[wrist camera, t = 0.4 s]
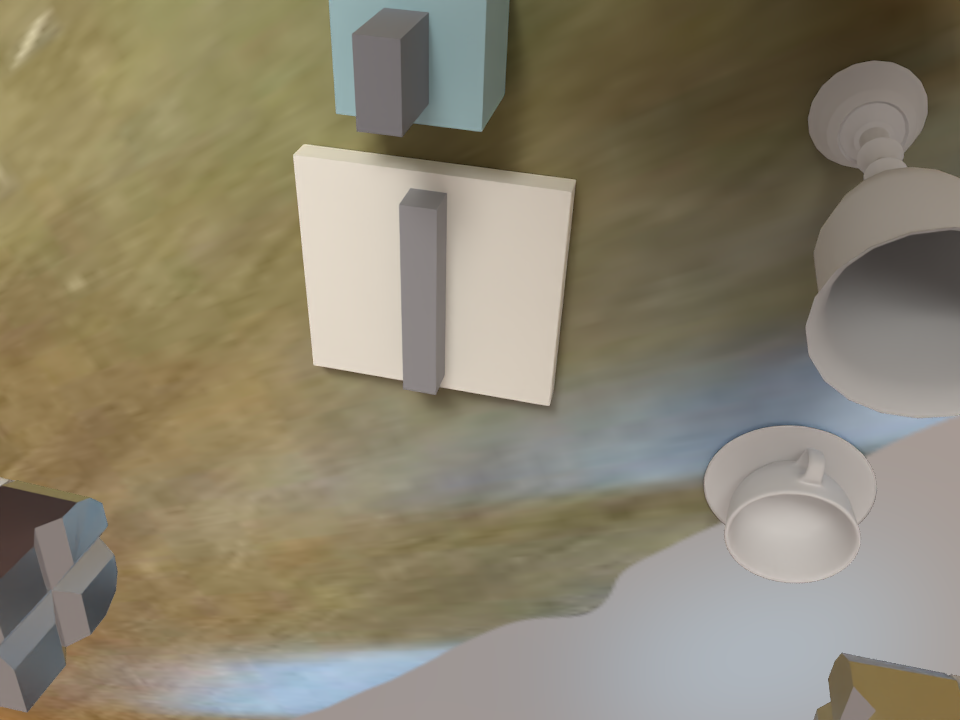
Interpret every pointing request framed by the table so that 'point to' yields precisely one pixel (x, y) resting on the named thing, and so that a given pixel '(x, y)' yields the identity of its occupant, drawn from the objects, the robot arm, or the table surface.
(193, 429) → the table surface
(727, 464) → the teacup
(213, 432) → the table surface
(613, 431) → the table surface
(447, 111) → the block
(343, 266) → the cleat board
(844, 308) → the chalice
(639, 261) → the table surface
